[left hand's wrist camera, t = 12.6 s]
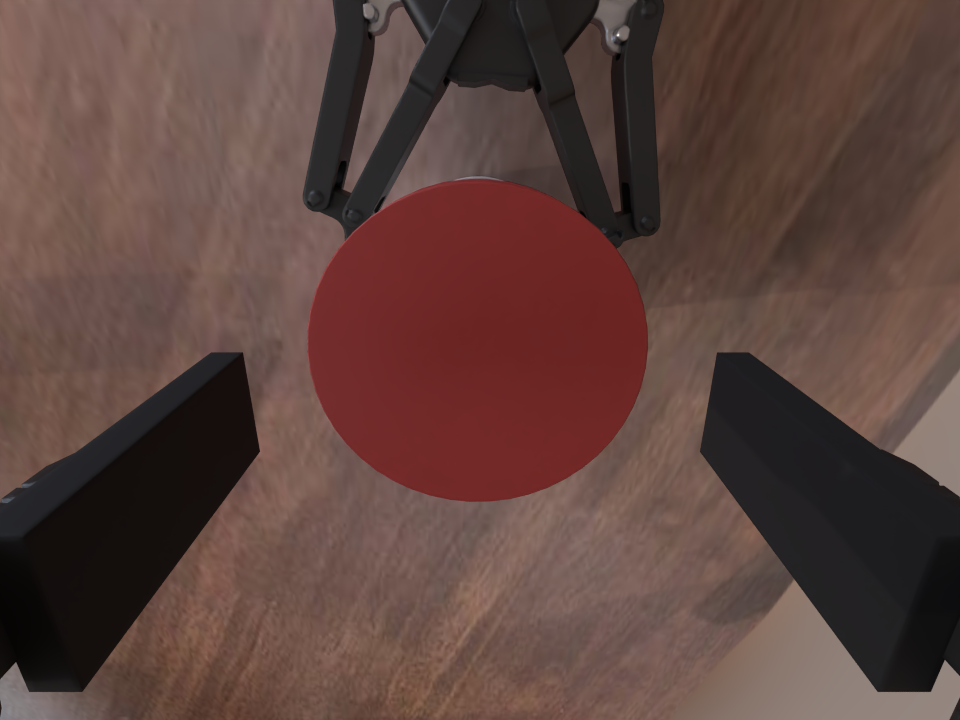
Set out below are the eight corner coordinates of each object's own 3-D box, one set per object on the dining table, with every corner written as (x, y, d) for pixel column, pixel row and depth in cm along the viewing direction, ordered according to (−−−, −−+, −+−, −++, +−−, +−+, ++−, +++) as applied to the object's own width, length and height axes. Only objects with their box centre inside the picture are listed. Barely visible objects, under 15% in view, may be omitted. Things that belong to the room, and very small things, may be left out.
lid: (312, 447, 19) (296, 476, 18) (337, 147, 16) (320, 147, 14) (587, 491, 20) (597, 523, 18) (672, 213, 16) (695, 220, 15)
